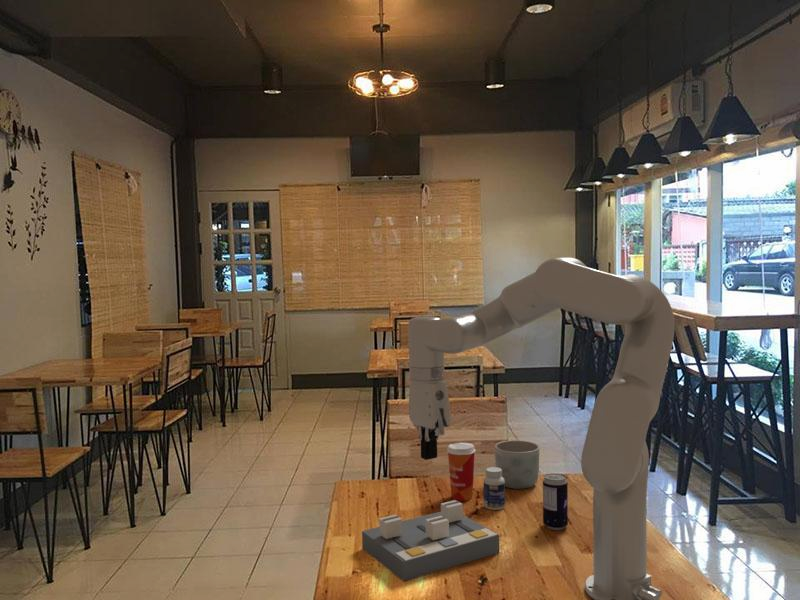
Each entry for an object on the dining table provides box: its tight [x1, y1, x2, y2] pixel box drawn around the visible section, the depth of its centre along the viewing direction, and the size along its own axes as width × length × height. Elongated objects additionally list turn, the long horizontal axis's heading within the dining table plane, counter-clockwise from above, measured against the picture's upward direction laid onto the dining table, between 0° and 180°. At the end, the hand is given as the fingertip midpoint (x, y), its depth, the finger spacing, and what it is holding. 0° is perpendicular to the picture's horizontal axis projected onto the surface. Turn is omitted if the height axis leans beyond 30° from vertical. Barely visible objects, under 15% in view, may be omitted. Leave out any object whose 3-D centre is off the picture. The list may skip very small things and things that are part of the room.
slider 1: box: [378, 514, 403, 539], centre depth 145 cm, size 3×4×4 cm
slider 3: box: [440, 499, 464, 523], centre depth 153 cm, size 3×4×4 cm
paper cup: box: [446, 442, 477, 502], centre depth 179 cm, size 8×8×14 cm
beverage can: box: [542, 473, 569, 531], centre depth 159 cm, size 6×6×12 cm
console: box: [361, 511, 500, 582], centre depth 147 cm, size 18×24×4 cm
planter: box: [494, 439, 540, 490], centre depth 189 cm, size 12×12×11 cm
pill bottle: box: [483, 466, 506, 511], centre depth 172 cm, size 5×5×10 cm
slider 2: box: [426, 516, 449, 540], centre depth 144 cm, size 3×4×4 cm
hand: (429, 457), depth 146 cm, fingers closed
